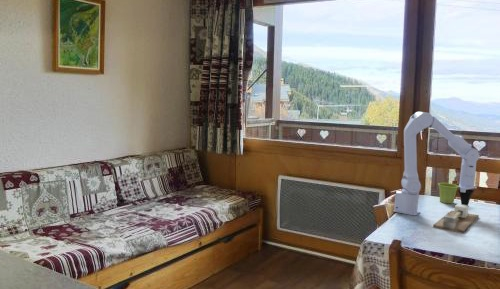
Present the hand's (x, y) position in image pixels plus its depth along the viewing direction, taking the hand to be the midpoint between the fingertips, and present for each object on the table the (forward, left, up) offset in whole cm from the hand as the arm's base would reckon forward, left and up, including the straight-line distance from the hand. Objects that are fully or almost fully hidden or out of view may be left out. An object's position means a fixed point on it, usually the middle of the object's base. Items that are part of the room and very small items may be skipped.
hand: (464, 206), depth 201 cm
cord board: (0, -13, -4) cm, 14 cm away
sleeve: (0, -6, -3) cm, 7 cm away
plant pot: (-12, +22, -4) cm, 25 cm away
